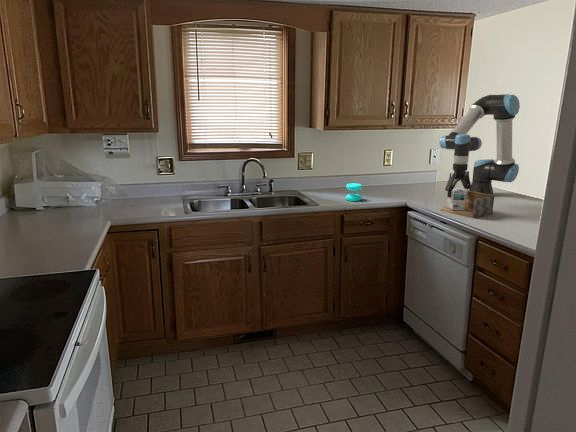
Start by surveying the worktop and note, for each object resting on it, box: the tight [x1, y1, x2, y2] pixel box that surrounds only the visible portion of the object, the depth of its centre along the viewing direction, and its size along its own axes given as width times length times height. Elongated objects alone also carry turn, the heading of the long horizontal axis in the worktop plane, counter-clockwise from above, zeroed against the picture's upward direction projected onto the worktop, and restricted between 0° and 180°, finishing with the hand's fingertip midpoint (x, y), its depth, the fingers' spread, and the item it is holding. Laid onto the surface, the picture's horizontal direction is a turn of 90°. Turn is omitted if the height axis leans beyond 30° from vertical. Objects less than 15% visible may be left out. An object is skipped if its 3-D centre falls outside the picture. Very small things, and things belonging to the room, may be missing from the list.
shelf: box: [439, 190, 495, 219], centre depth 244 cm, size 16×22×10 cm
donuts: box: [345, 182, 363, 202], centre depth 276 cm, size 10×10×10 cm
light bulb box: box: [448, 187, 466, 211], centre depth 246 cm, size 11×7×11 cm, turn 169°
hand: (457, 201), depth 246 cm, fingers open, 12 cm apart
